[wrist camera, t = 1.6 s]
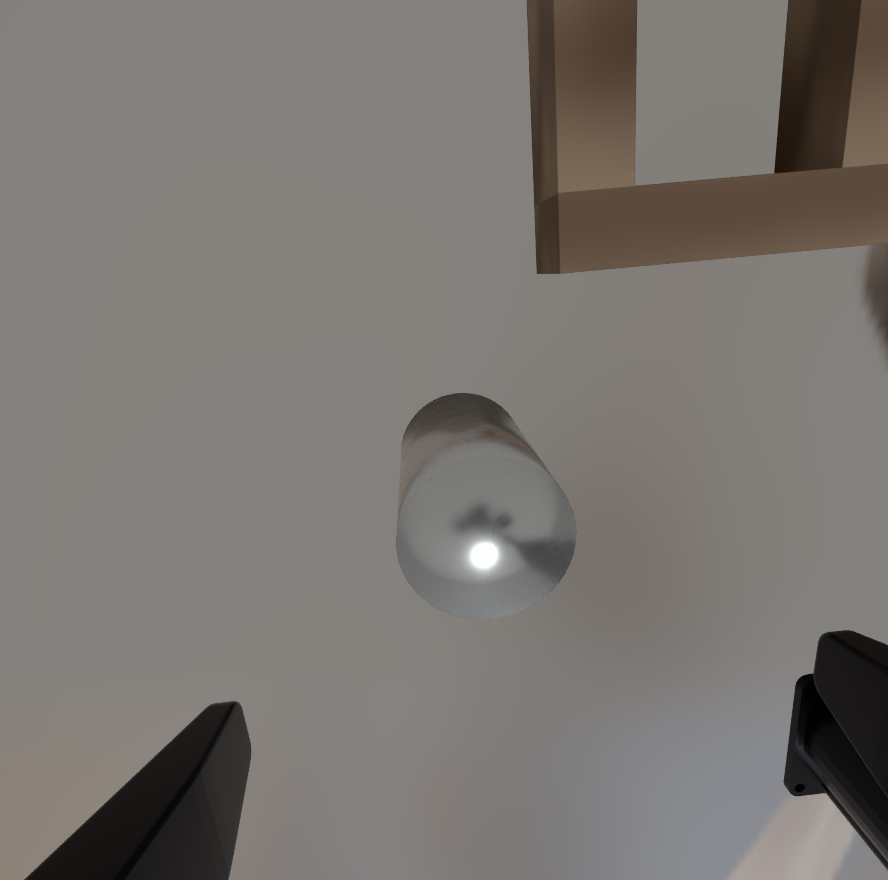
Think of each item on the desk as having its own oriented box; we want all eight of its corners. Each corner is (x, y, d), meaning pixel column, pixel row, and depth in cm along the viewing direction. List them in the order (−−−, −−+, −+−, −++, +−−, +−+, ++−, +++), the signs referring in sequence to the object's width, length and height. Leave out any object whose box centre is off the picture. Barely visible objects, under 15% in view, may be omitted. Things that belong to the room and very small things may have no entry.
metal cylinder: (524, 501, 21) (577, 609, 14) (408, 513, 21) (406, 628, 14) (518, 387, 19) (574, 446, 13) (394, 399, 19) (385, 466, 13)
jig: (828, 246, 19) (904, 241, 16) (536, 273, 18) (560, 273, 15) (869, -123, 16) (972, -212, 13) (523, -98, 15) (548, -184, 12)
